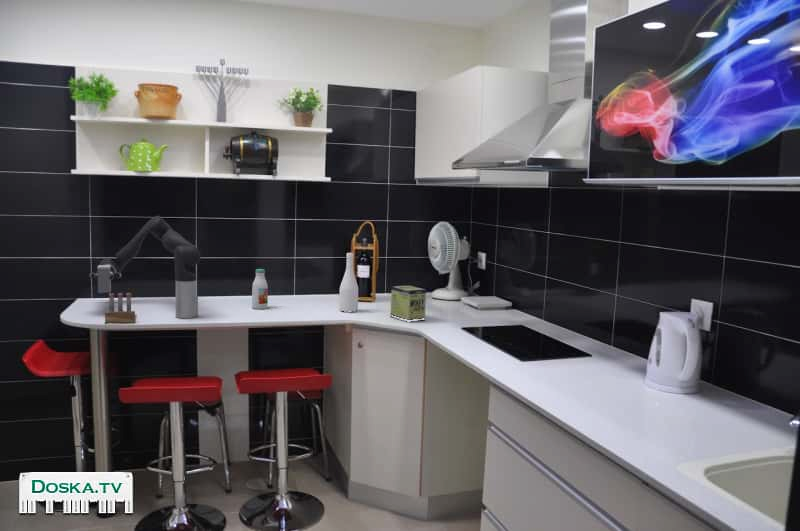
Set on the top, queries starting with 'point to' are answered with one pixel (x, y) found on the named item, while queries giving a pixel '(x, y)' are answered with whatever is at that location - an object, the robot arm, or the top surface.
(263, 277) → the milk bottle
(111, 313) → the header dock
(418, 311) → the protein box
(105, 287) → the plug block
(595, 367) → the top surface
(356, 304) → the wine bottle
